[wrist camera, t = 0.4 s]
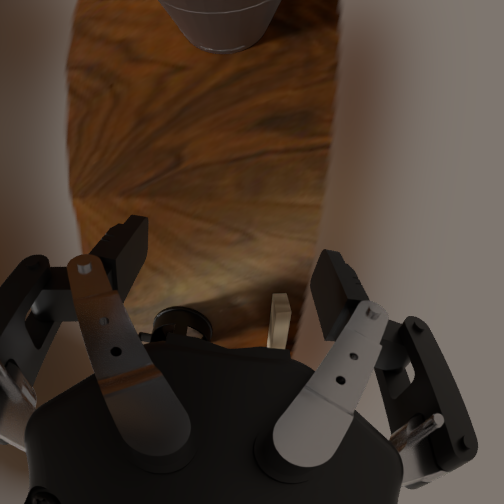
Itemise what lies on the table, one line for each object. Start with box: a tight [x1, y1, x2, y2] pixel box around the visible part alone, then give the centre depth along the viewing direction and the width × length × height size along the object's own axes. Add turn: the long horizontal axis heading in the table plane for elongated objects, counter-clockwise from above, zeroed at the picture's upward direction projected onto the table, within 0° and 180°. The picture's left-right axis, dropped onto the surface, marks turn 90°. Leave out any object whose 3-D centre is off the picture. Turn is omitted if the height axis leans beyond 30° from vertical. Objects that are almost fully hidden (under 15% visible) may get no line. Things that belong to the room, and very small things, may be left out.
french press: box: [138, 307, 212, 343], centre depth 32 cm, size 12×9×23 cm
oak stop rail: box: [267, 293, 291, 349], centre depth 41 cm, size 14×2×4 cm, turn 178°
